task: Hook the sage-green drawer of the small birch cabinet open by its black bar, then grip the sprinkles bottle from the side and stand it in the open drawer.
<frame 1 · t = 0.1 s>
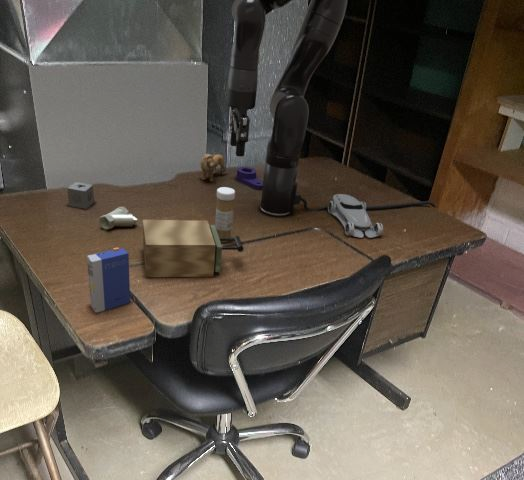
hand: (236, 150, 153), 17 cm above the table, tool pointing down, fingers open, 8 cm apart
walkman: (110, 305, 117), on the table
dice cube: (81, 204, 155), on the table
pipe fitting: (120, 227, 147), on the table
cabinet: (177, 263, 134), on the table
car model: (351, 221, 167), on the table
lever: (250, 183, 183), on the table
drawer: (199, 248, 133), point 4 cm above the table, slide at 0.5 cm
sprinkles bottle: (222, 239, 147), on the table
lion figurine: (213, 178, 182), on the table
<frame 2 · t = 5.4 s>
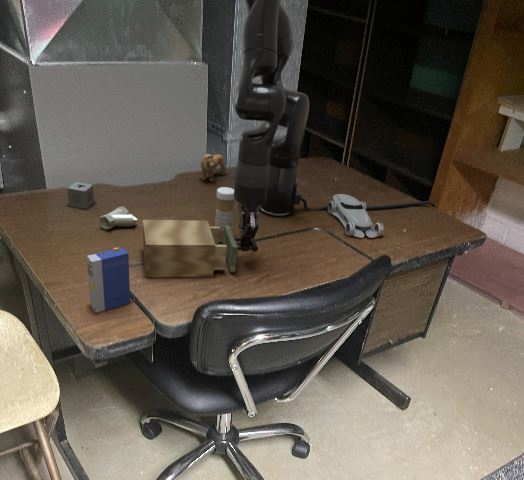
hand: (244, 249, 136), 4 cm above the table, tool pointing down, fingers closed
drawer: (214, 248, 134), point 4 cm above the table, slide at 4.1 cm, touching gripper
everything else where it was.
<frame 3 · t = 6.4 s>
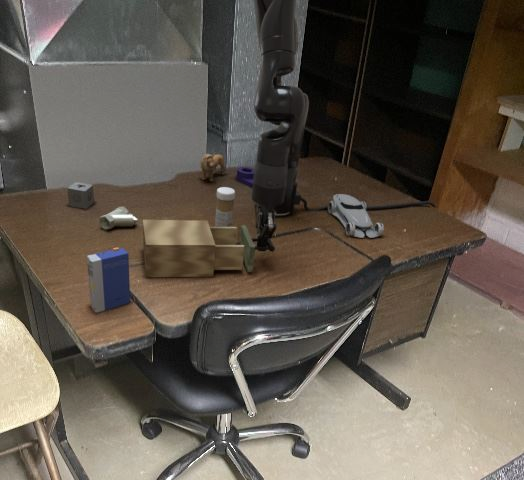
hand: (261, 249, 137), 4 cm above the table, tool pointing down, fingers closed
drawer: (231, 248, 135), point 4 cm above the table, slide at 8.2 cm, touching gripper
everything else where it was.
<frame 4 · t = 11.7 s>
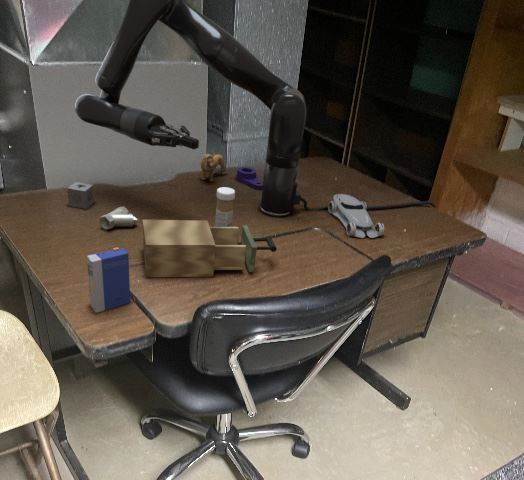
hand: (197, 144, 138), 22 cm above the table, tool horizontal, fingers closed
drawer: (233, 248, 135), point 4 cm above the table, slide at 8.6 cm
everything else where it was.
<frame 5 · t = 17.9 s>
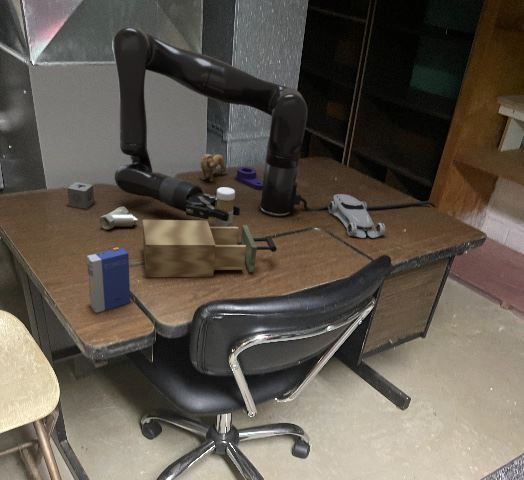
hand: (233, 214, 142), 8 cm above the table, tool horizontal, fingers closed on sprinkles bottle, 4 cm apart
sprinkles bottle: (222, 239, 147), on the table, touching gripper
everything else where it was.
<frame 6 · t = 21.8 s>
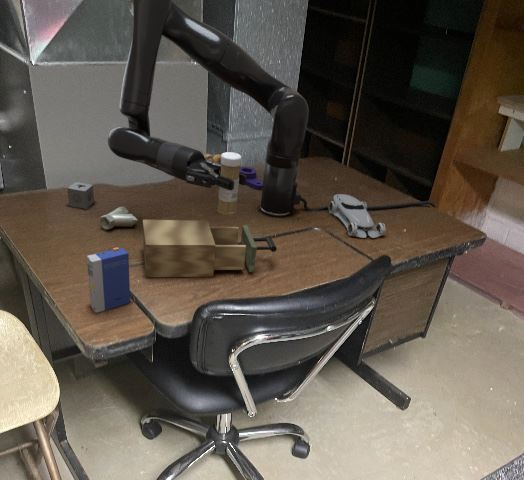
hand: (239, 183, 127), 20 cm above the table, tool horizontal, fingers closed on sprinkles bottle, 4 cm apart
sprinkles bottle: (226, 212, 132), point 12 cm above the table, touching gripper
everything else where it was.
when the fingers open (10 cm above the table, at t = 25.5 s): sprinkles bottle stays where it is, resting on drawer.
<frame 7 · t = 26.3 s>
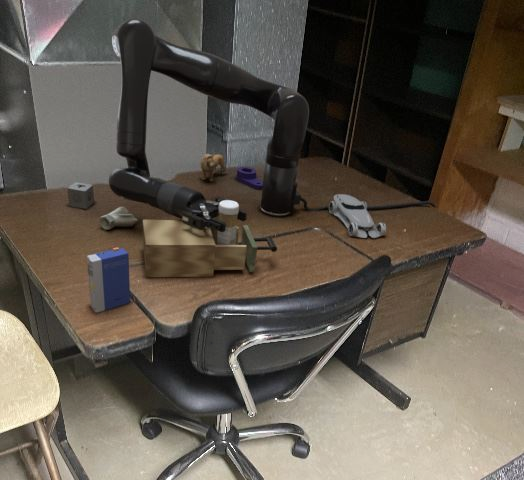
hand: (235, 222, 129), 11 cm above the table, tool horizontal, fingers open, 8 cm apart
drawer: (233, 248, 135), point 4 cm above the table, slide at 8.7 cm, touching sprinkles bottle
sprinkles bottle: (224, 256, 136), point 2 cm above the table, touching drawer
everything else where it was.
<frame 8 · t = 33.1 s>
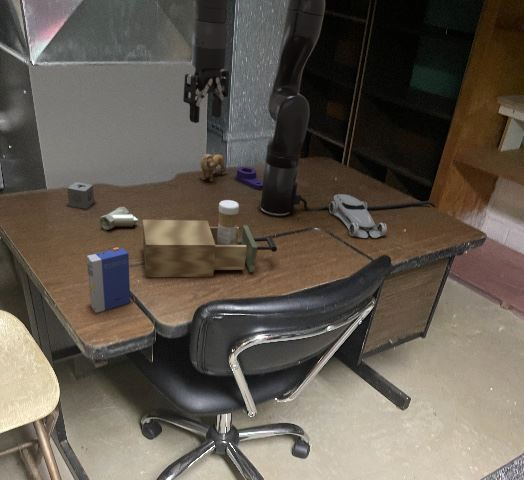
hand: (205, 119, 135), 28 cm above the table, tool pointing down, fingers open, 8 cm apart
nothing on the table moved.
at the end: drawer slide at 8.7 cm; sprinkles bottle inside the target area in the drawer (0.4 cm from its centre), point 1.7 cm above the cabinet's base; the gripper is holding nothing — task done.
